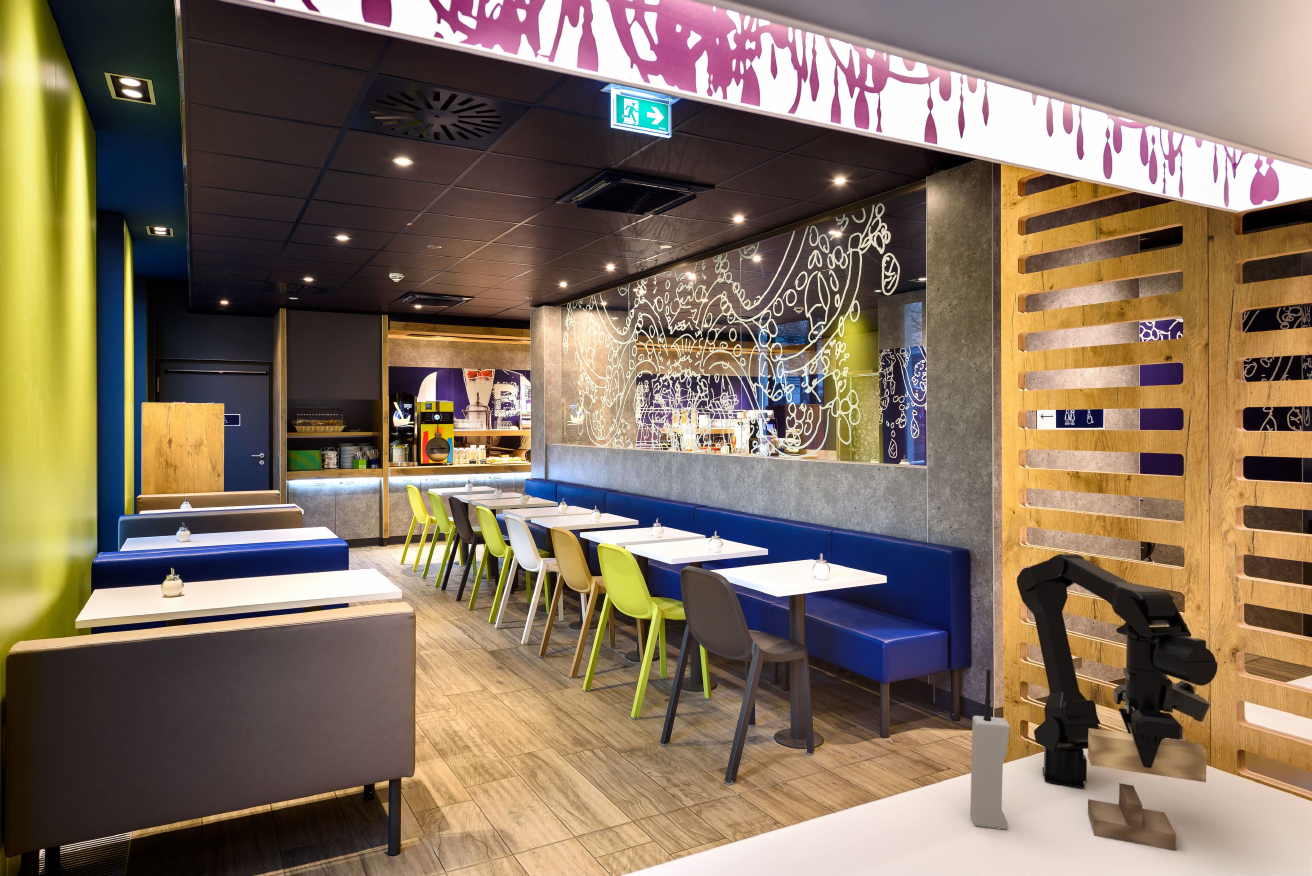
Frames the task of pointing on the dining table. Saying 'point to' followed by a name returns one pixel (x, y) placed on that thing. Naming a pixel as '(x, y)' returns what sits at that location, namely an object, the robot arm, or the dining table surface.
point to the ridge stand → (1131, 821)
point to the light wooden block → (1169, 760)
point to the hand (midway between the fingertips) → (1144, 763)
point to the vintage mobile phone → (988, 766)
